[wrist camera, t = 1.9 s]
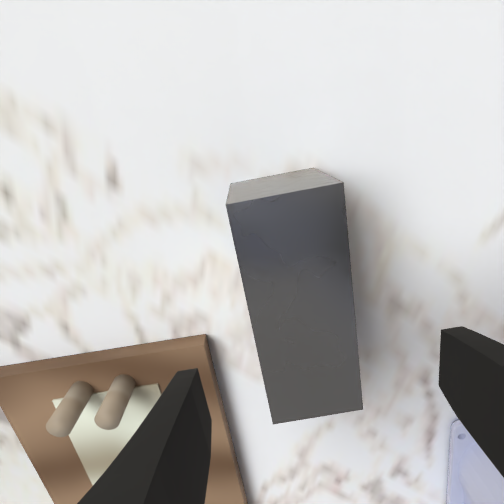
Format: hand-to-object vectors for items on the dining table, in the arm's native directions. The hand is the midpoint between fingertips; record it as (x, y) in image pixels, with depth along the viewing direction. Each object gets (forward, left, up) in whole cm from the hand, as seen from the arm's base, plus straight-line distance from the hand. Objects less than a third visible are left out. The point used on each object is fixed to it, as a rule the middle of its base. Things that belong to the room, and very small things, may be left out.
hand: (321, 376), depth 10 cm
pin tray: (-11, +11, -8) cm, 17 cm away
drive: (0, 0, -8) cm, 8 cm away
